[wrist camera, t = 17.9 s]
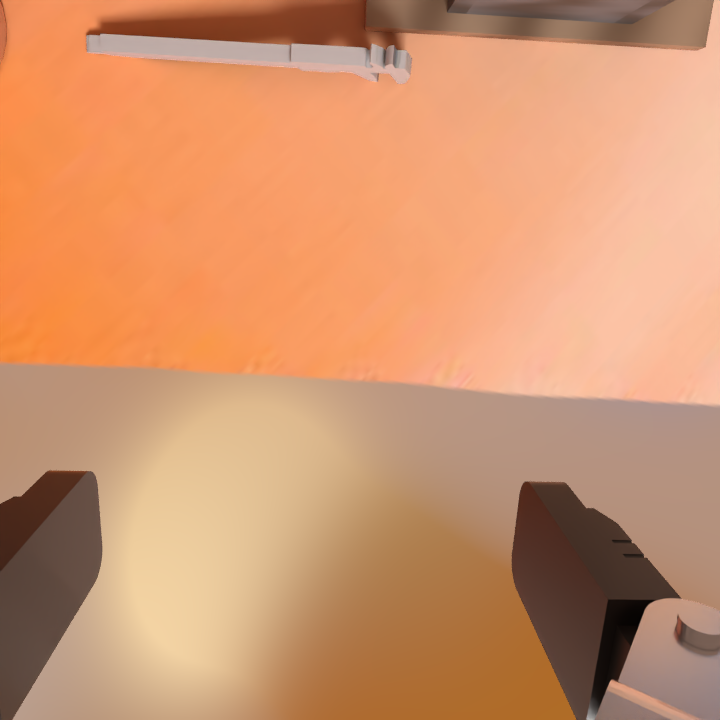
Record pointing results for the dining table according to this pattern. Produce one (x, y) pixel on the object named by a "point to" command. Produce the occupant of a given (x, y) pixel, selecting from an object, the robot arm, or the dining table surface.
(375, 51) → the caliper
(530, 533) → the robot arm
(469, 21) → the bottle caddy
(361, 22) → the dining table surface
